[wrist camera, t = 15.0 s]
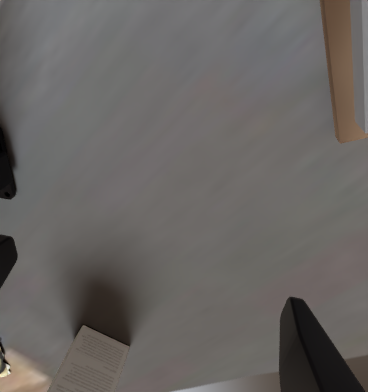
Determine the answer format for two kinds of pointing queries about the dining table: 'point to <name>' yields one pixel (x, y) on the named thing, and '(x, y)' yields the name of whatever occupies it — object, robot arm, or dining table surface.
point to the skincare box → (91, 364)
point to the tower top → (360, 60)
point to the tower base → (340, 68)
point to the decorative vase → (3, 366)
